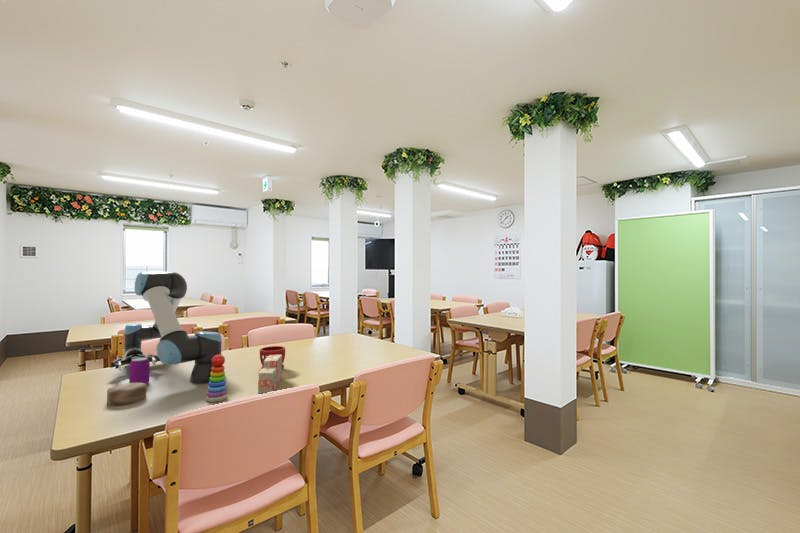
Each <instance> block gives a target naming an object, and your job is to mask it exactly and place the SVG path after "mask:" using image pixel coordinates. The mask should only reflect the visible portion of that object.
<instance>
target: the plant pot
mask: <svg viewBox="0 0 800 533" xmlns="http://www.w3.org/2000/svg"><path fill="white" fill-rule="evenodd" d="M269 355H282V370H283V369H284V368H285V365H284V362H285V358H286V347H285V346H281V345H278V346H277V345H272V346H271V345H270V346H265V347H262V348H260V349H259V360H260V363H261V368H260V369H261V370H262V369H263V368H264V360H265V359H266V358H267V357H268V356H269Z"/></svg>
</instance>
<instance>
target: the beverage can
mask: <svg viewBox="0 0 800 533" xmlns="http://www.w3.org/2000/svg"><path fill="white" fill-rule="evenodd" d="M150 364H151V362H149V360H148V358H147V357H139V358H134V359H132V360H131V363H130V364H129V366H128V367H129V373H128V374H129V376H128V378H129V381H128V383H145V384H146V385H147V384H148V383H149V382H150V374H151V373H150V368H151V367H150V366H151V365H150Z"/></svg>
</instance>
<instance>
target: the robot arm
mask: <svg viewBox="0 0 800 533" xmlns="http://www.w3.org/2000/svg"><path fill="white" fill-rule="evenodd" d="M187 290H188V284H187V282H186V279H185V278H184V277H183V276H182V274H180V273H178V272H174V271H141V272H139V273H138V274H137V275H136V278H135V281H134V292H135V293H134V294H135V295H137V296H142V299H143V300H144V301H145V302H148V304H149V307H150V310H151V313H152V315H153V318H154V320H155V321H154V323H153V324H152V325H147V326H142V324H141V323H130V324H129V323H128V324H126V326H125V327H124V349H123V355H124V358H123V357H118V358H117V359H115V360H113V361H110V368H114V367H115V369H116V370H117V369H118V371H122V366H124V365H130V363H131V360H132V359H134V358H139V357H147V358H148V360H149V362H150V363H152V366H156V363H158V362H161V363H162V364H163V365H165V366H174V365H175V366H176V365H179V364H184V363H188V362H194V366H193V367H192V371H191V373H190V377H189V378H190V382H191V383H194V384H209V382H210V377H211V375H210V373H211V372H212V370H211V368H212V367H213V366H214V365H213V364H212V358H213V357H214V356H215V355H222V343H223V340H222V334H221V333H219V332H217V331H208V330H207V331H201V330H200V331H196V332H195V333H194V335H191V336H189V334H188V333H187V331H186V330H183V329H182V327H181V325H180V321H179V319H178V317H177V314H176V312H177V308H178V307H179V305H180V302H181V300H182V298H184V297H185V296H186V294H187ZM153 339H159V340H158V343H157V345H156V351H157V352H156V354H152V353H148V354H147V355H145V354H144V353H143V351H142V341H146V340H153ZM223 371H224V372H225V369H224V370H223ZM224 375H225V376H226V372H225V374H224Z"/></svg>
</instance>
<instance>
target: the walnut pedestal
mask: <svg viewBox="0 0 800 533" xmlns="http://www.w3.org/2000/svg"><path fill="white" fill-rule="evenodd" d="M146 398H147V384H145V383H129V382H128V383H122V384H117V385H114V386H111V387H110V388H108V389H107V390H106V404H107V405H108V406H113V407H115V406H116V407H119V406H127V405H132V404H135V403H138V402H142V401H143V400H145V399H146Z"/></svg>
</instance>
